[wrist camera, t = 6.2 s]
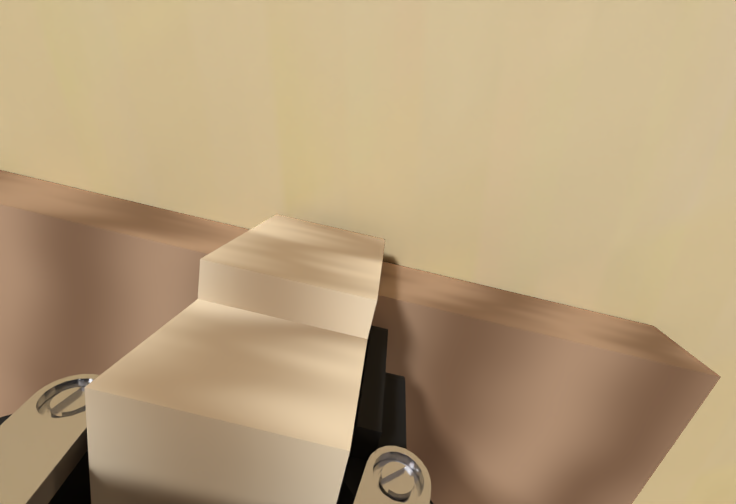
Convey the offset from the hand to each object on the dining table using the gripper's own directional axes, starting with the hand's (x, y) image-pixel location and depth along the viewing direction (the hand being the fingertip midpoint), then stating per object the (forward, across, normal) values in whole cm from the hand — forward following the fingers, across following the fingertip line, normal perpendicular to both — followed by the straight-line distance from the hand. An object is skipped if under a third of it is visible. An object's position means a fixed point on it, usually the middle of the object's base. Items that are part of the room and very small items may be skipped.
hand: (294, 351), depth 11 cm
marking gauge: (+3, 0, +3) cm, 4 cm away
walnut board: (+4, +1, +4) cm, 5 cm away
